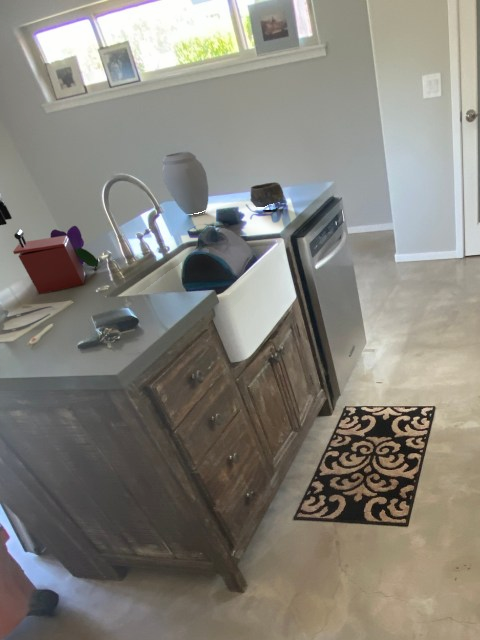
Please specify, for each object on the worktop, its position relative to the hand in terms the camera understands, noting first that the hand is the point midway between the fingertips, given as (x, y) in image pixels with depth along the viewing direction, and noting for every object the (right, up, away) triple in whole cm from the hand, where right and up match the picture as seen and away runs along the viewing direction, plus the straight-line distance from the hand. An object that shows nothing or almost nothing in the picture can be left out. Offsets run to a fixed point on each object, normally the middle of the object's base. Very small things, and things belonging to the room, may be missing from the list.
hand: (4, 222), depth 168 cm
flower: (+10, -2, +29) cm, 31 cm away
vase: (+33, +49, +81) cm, 101 cm away
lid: (+8, -4, +7) cm, 11 cm away
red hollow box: (+9, -13, +16) cm, 23 cm away
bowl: (+71, +44, +69) cm, 109 cm away
